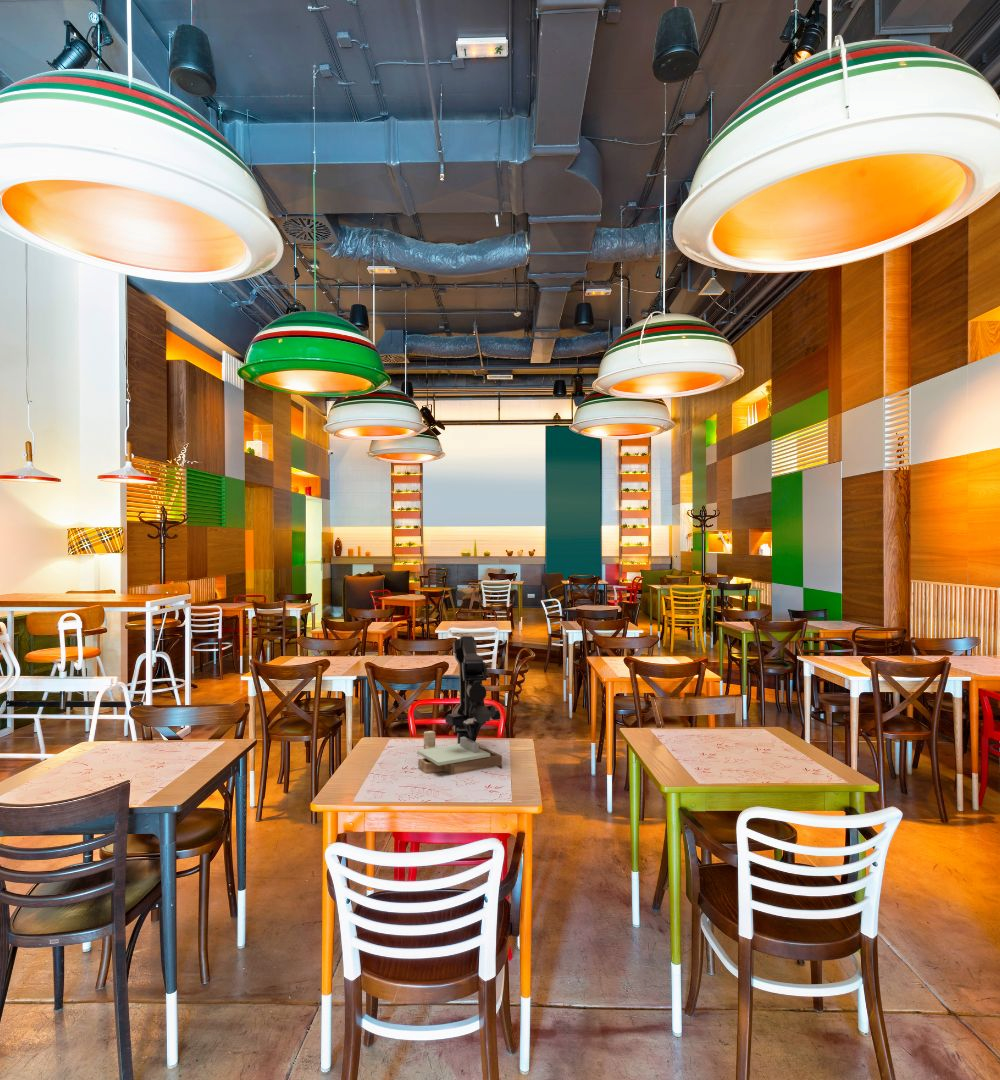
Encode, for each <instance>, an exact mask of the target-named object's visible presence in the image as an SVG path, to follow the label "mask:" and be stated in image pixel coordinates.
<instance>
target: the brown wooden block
mask: <svg viewBox="0 0 1000 1080" xmlns="http://www.w3.org/2000/svg"><path fill="white" fill-rule="evenodd" d="M435 747H436V732H435V731H433V730H428V731H424V732H423V749H428V748H435Z"/></svg>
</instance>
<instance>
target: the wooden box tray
mask: <svg viewBox="0 0 1000 1080" xmlns="http://www.w3.org/2000/svg"><path fill="white" fill-rule="evenodd" d="M479 748H480V749H482V750H484V751H486V752H488V753H490V757H485V758H479V759H473V760H468V761H462V762H456V763H451V764H445V765H439V766H438V765H436V764H435V763H433V762H431V761H429V760H428V759H426V758H424V757H423V758H419V759H418V760H417V761H418V762H417V763H418V764H417V765H418V768H417V769H418V770H419V771H421V772H423V773H425V774H427V775H428V774H432V773H437V772H443V771H444V772H445V773H448V774H449V775H451V776H452V775H457V774H461V773H462V774H463V773H467V772H473V771H479V770H485V769H489V768H495V767H497V768H499V769H502V767H503V766H502V760H503V756H502V754H499V753H498V752H495V751H493V750H491V749H488V748H486V747H485V746H482V745H480V744H479Z"/></svg>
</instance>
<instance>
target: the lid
mask: <svg viewBox="0 0 1000 1080" xmlns="http://www.w3.org/2000/svg"><path fill="white" fill-rule="evenodd" d="M479 745H480V744H479V742H476V741H472V740H470V739H468V738H466V737H460V744H458V743H455V744H454V743H453V744H448V745H442V746H435V748H428V749H424V748H423V749H418V750H416V754H418V755H419V756H421V757H423V758H426V759H428V760H429V761H431V762H433V763H435V764H436V765H438V766H439V765H445V764H451V763H456V762H462V761H468V760H473V759H479V758H485V757H490V753H488V752H486V751H484V750H482V749H480V748H479Z"/></svg>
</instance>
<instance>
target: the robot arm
mask: <svg viewBox="0 0 1000 1080" xmlns="http://www.w3.org/2000/svg"><path fill="white" fill-rule="evenodd" d="M477 650H478V647H477V640H476V639H475V637H474V636H472V635H469V636H468V635H464V636H463V635H462V636H460V637H459V639H456V640H454V641H453V644H452V651H453V652H452V653H453V654H454V659H455V660H456V662H457V664H458V665H459V666H458V669H459V679H458V681H459V706H458V707H457V709H456V711H455V713H448V714H447V715H446V716H445V724H448V725H449V726H453V732H454V734H457V744H460V737H466V738H468V739H470V740H472V741H475V742H476V741H477V738H478V736H479V732H480V729H481V728H482V726H483V725H485V724H486V723H487V722H488V723H489V722H490V721H491V719H492V720H493V721H497V720H501V716H502V715H501V712H500V710H497V709H496V706H495V705H494V704H492V705H486V704H485V698H486V697H487V690H486V687H485V686H484V685H483V681H487V678H488V675H489V673H488V668H487V665H486V662H485V661H484V659H483V657H482V656H481V655H478V653H477Z"/></svg>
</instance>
